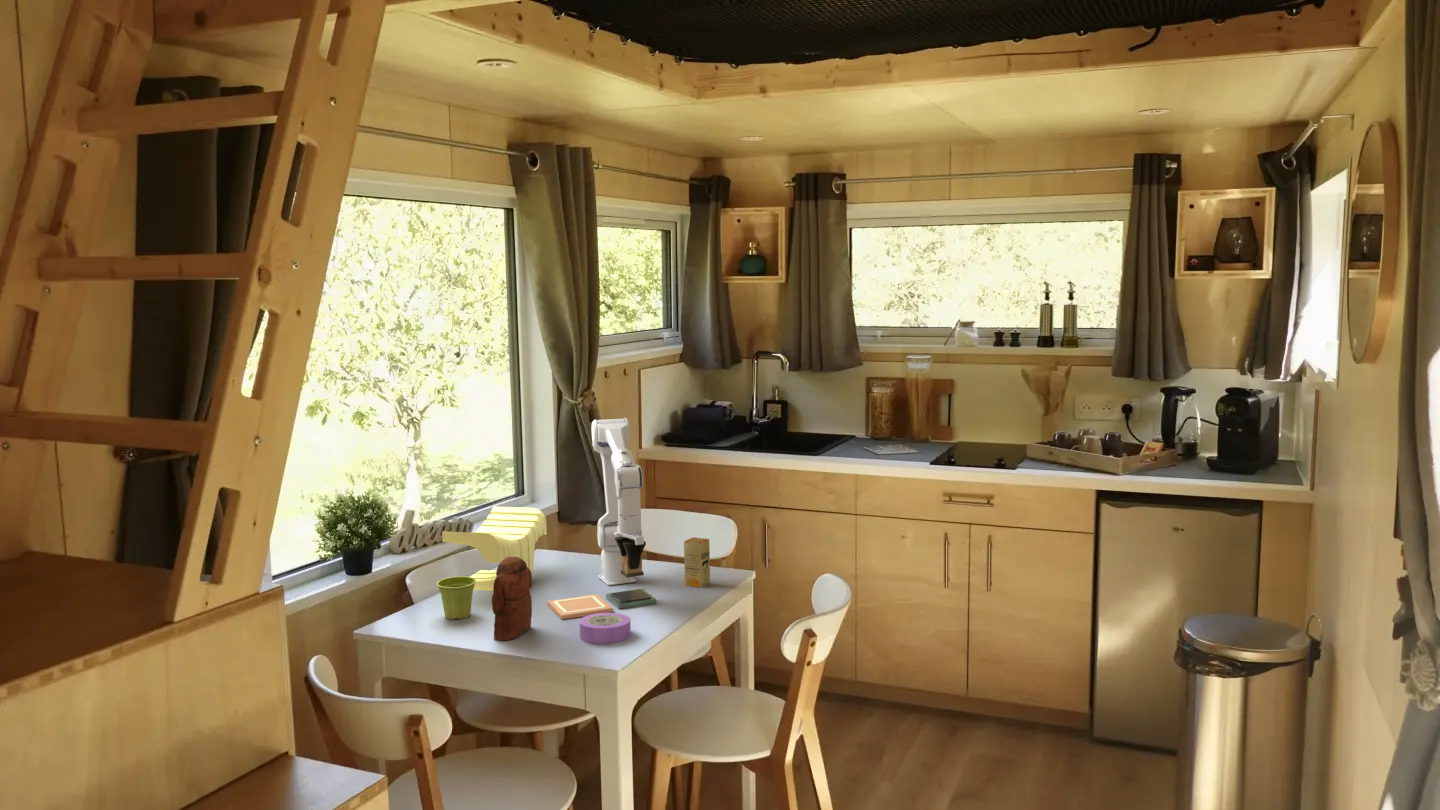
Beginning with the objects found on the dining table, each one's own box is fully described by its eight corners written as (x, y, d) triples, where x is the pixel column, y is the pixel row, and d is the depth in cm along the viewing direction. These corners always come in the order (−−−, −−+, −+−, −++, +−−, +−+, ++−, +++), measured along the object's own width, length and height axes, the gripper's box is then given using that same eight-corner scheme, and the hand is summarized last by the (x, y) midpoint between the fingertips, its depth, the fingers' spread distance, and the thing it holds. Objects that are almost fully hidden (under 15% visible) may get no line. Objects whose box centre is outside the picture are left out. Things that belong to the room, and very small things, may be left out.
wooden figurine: (511, 624, 255) (508, 550, 253) (536, 626, 254) (533, 552, 252) (488, 640, 244) (484, 563, 242) (513, 642, 242) (510, 565, 240)
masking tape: (606, 624, 255) (605, 609, 254) (641, 634, 247) (640, 618, 247) (569, 637, 246) (568, 621, 246) (604, 648, 239) (604, 631, 238)
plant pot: (485, 613, 264) (484, 579, 263) (457, 624, 256) (455, 589, 255) (459, 607, 269) (457, 574, 268) (430, 618, 261) (428, 583, 260)
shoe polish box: (710, 582, 287) (709, 539, 286) (701, 587, 283) (700, 543, 282) (693, 580, 290) (693, 537, 288) (684, 585, 285) (684, 541, 284)
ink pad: (605, 598, 275) (605, 592, 275) (642, 593, 279) (642, 587, 279) (618, 609, 266) (618, 603, 266) (656, 603, 270) (656, 597, 270)
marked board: (547, 604, 270) (547, 600, 270) (596, 597, 275) (596, 593, 275) (561, 619, 258) (561, 615, 258) (612, 611, 264) (612, 607, 263)
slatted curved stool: (502, 601, 273) (499, 533, 271) (445, 598, 277) (442, 531, 275) (548, 570, 302) (545, 508, 300) (496, 567, 306) (493, 506, 304)
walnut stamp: (620, 573, 273) (619, 549, 272) (637, 570, 275) (636, 546, 274) (626, 577, 269) (625, 553, 268) (643, 575, 271) (643, 551, 270)
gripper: (605, 510, 275) (606, 561, 276) (624, 521, 262) (625, 575, 263) (631, 507, 278) (632, 558, 279) (651, 518, 265) (652, 571, 266)
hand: (630, 566), depth 271 cm, fingers closed on walnut stamp, 4 cm apart
